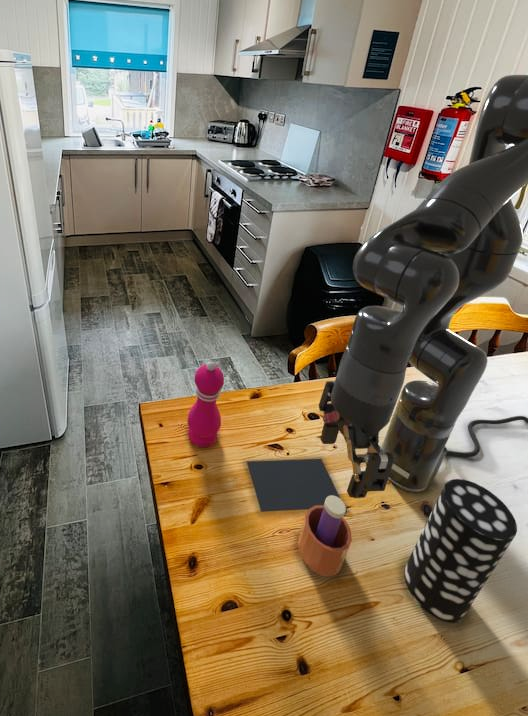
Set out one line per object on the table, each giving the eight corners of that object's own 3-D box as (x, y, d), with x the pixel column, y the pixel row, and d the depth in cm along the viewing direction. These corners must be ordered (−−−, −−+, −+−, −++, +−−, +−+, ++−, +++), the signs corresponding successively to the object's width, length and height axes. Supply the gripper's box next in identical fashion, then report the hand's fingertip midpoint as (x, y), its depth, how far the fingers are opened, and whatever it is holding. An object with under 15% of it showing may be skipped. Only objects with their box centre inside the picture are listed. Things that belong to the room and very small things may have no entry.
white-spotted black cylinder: (441, 635, 57) (493, 551, 49) (391, 573, 64) (430, 490, 56) (476, 608, 60) (530, 525, 52) (425, 551, 67) (466, 471, 59)
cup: (329, 530, 70) (338, 504, 67) (349, 576, 63) (360, 550, 60) (291, 532, 69) (298, 506, 66) (307, 579, 63) (316, 552, 60)
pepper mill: (217, 452, 83) (228, 378, 75) (183, 445, 84) (190, 371, 76) (220, 425, 89) (230, 354, 81) (188, 419, 90) (195, 348, 83)
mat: (320, 460, 82) (321, 458, 82) (344, 508, 73) (344, 507, 73) (246, 463, 81) (246, 461, 81) (260, 513, 72) (261, 511, 72)
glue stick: (324, 541, 67) (340, 494, 63) (332, 561, 65) (349, 514, 60) (307, 542, 67) (322, 495, 62) (315, 562, 64) (330, 515, 60)
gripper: (430, 425, 46) (392, 514, 53) (365, 347, 59) (341, 426, 66) (370, 426, 46) (338, 517, 52) (317, 347, 59) (297, 427, 65)
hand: (340, 466), depth 59 cm, fingers open, 8 cm apart
